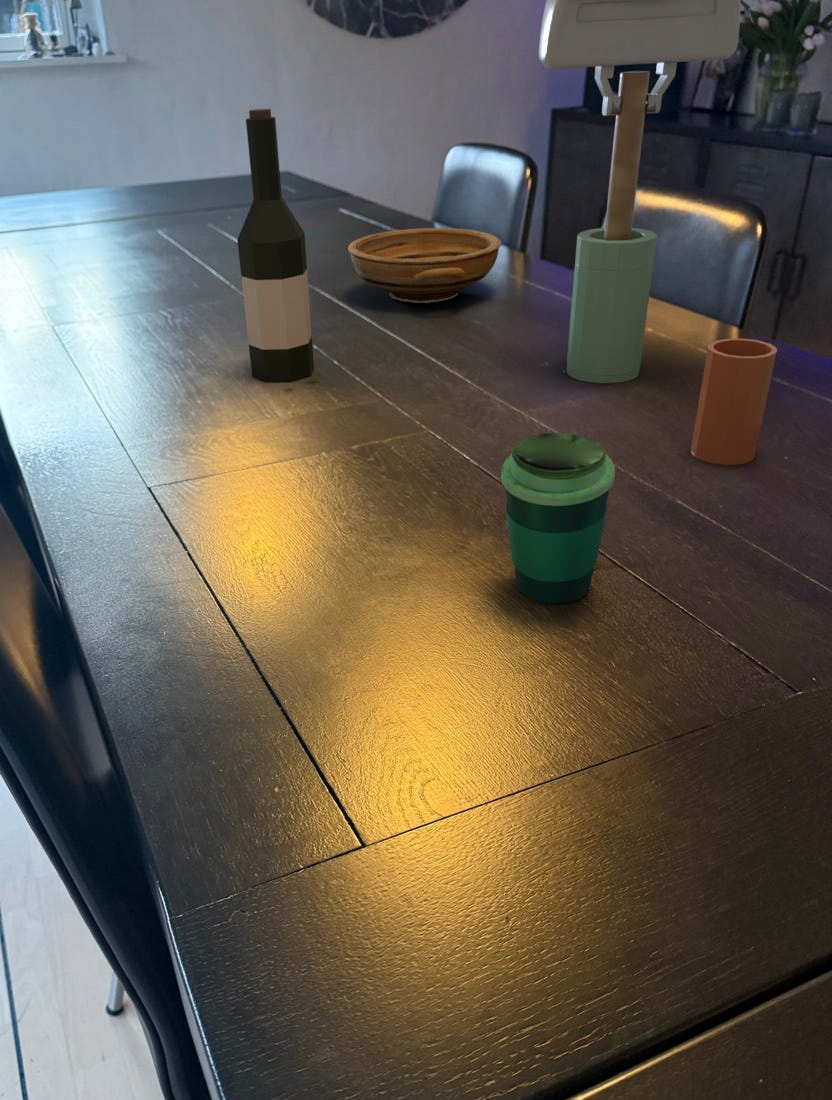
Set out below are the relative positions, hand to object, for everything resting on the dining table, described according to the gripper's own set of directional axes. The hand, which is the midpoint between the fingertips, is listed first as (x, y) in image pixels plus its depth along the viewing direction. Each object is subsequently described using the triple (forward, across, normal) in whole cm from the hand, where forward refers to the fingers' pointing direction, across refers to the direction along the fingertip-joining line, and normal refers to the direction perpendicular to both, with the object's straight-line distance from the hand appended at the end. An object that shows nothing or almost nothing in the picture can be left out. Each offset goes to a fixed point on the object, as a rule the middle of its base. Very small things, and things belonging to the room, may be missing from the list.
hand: (630, 114), depth 100 cm
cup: (+28, +19, +51) cm, 61 cm away
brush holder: (+28, -4, +28) cm, 40 cm away
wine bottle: (+28, +40, -8) cm, 50 cm away
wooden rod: (+18, 0, 0) cm, 18 cm away
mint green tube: (+28, 0, 0) cm, 28 cm away
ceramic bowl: (+28, +17, -43) cm, 54 cm away
